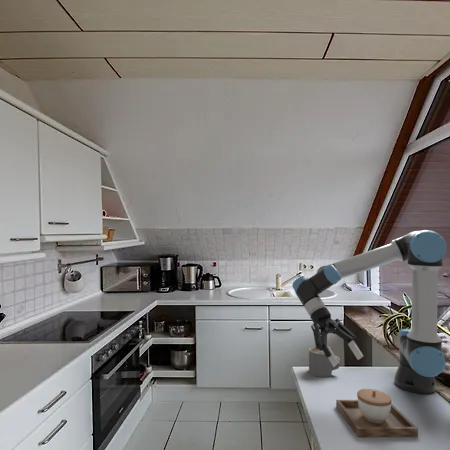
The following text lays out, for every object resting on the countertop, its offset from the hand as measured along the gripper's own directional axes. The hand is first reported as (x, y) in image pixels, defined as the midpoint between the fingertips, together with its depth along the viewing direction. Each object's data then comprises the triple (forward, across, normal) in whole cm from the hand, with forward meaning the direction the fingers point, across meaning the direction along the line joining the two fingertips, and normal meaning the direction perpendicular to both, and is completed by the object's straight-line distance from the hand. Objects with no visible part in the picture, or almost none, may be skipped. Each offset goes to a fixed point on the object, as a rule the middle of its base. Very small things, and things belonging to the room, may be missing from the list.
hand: (348, 361), depth 129 cm
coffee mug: (-7, -17, -30) cm, 35 cm away
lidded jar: (+19, 0, -4) cm, 19 cm away
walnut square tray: (+19, 0, -4) cm, 19 cm away
